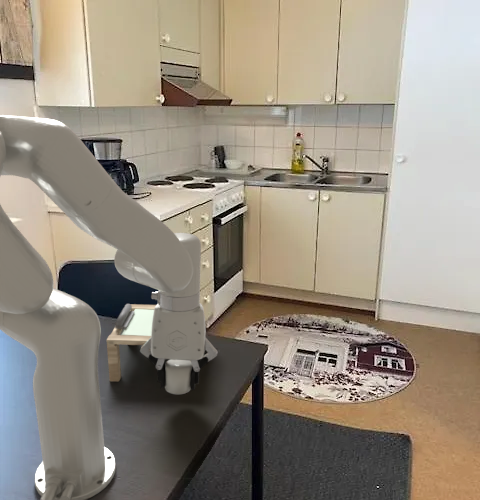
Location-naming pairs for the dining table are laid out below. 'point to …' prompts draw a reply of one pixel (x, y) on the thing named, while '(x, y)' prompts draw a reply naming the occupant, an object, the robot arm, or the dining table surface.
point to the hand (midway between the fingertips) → (178, 384)
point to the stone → (178, 376)
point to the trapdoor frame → (118, 339)
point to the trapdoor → (135, 321)
